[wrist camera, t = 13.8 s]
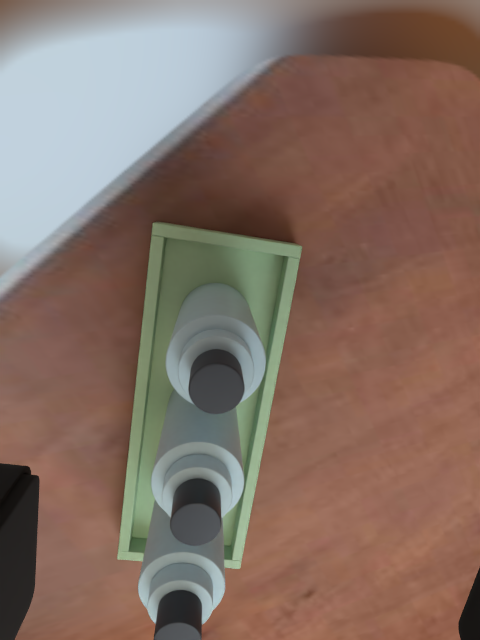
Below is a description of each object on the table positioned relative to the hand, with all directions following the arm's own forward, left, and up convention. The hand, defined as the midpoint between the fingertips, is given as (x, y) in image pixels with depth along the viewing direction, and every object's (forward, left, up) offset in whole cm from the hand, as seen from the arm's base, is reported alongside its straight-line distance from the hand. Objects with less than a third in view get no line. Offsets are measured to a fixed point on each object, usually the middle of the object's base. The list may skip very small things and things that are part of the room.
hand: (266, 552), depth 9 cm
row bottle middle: (+8, -1, -22) cm, 23 cm away
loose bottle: (+1, -1, -22) cm, 22 cm away
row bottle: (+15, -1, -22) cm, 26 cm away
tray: (+8, -1, -22) cm, 24 cm away
